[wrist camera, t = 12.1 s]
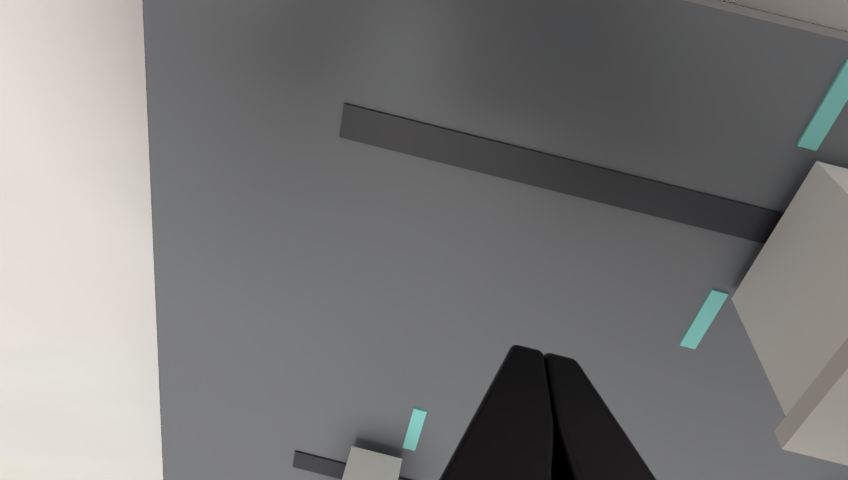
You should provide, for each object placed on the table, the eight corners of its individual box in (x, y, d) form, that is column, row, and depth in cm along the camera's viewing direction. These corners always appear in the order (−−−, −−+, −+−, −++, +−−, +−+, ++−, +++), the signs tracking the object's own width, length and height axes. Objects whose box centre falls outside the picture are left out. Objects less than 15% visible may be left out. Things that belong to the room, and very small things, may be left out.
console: (1225, 126, 12) (1322, 163, 11) (744, 612, 23) (760, 664, 22) (167, -138, 13) (119, -136, 11) (179, 468, 23) (156, 511, 22)
